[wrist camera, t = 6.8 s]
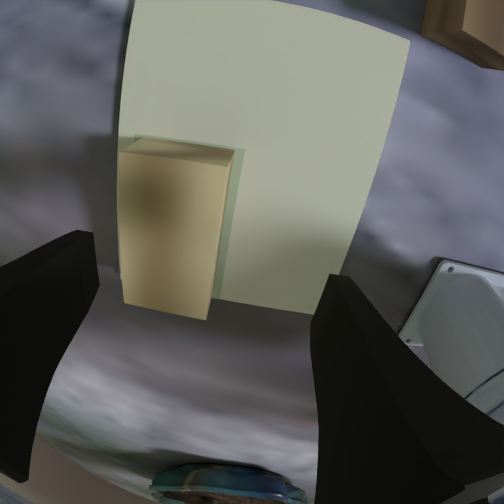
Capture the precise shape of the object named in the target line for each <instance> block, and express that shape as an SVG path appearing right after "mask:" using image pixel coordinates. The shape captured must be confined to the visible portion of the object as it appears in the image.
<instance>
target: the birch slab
mask: <svg viewBox="0 0 504 504" xmlns="http://www.w3.org/2000/svg"><path fill="white" fill-rule="evenodd" d="M234 154H235V150H231V149H225V148H219V147H212V146H206V145H199V144H192V143H185V142H177V141H170V140H161V139H153V138H144V137H143V138H141V139H139V140H138V141H136V142H135V143H133V144H131V145H130V146H128V147H127V148H125V149H123V150H122V151H120V152H119V236H120V257H121V272H122V285H123V297H124V303H126V304H131V305H135V306H139V307H144V308H148V309H153V310H158V311H162V312H167V313H172V314H177V315H182V316H187V317H192V318H197V319H202V320H206V319H207V314H208V310H209V306H210V302H211V297H212V293H213V289H214V282H215V275H216V268H217V261H218V254H219V248H220V241H221V234H222V228H223V221H224V215H225V208H226V202H227V196H228V190H229V183H230V177H231V171H232V165H233V159H234Z"/></svg>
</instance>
